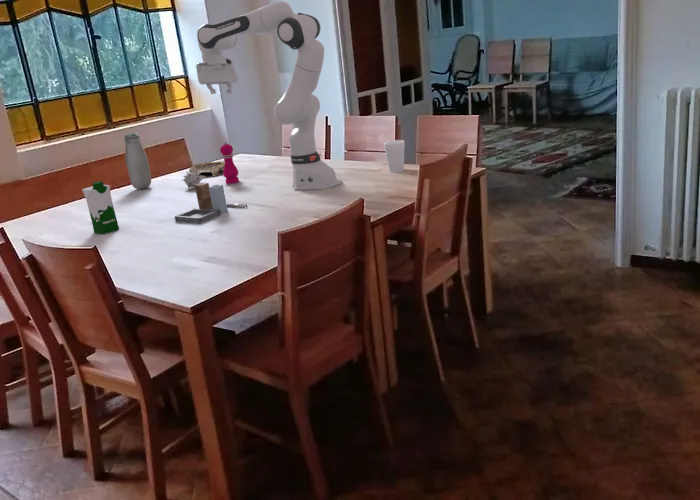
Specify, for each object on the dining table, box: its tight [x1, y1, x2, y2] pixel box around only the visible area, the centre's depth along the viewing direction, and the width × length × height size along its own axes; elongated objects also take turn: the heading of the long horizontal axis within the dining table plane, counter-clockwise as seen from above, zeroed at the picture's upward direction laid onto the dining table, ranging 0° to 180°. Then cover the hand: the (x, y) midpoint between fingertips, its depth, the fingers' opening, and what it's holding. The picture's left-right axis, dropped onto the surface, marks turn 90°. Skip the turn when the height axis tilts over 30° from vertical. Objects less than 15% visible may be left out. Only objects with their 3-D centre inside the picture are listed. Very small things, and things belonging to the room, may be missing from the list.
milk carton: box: [81, 180, 120, 235], centre depth 271 cm, size 9×9×20 cm
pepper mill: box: [219, 140, 240, 185], centre depth 329 cm, size 7×7×20 cm
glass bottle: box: [123, 132, 152, 190], centre depth 340 cm, size 10×10×28 cm
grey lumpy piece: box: [183, 171, 204, 190], centre depth 329 cm, size 9×8×10 cm
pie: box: [183, 160, 225, 179], centre depth 362 cm, size 28×27×5 cm
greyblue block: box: [209, 184, 229, 215], centre depth 278 cm, size 4×4×11 cm
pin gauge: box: [226, 202, 248, 209], centre depth 284 cm, size 10×2×2 cm
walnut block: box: [194, 182, 213, 210], centre depth 285 cm, size 4×4×11 cm
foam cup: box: [383, 139, 406, 173], centre depth 309 cm, size 10×9×13 cm
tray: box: [174, 207, 221, 224], centre depth 274 cm, size 14×11×2 cm
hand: (221, 93), depth 306 cm, fingers open, 8 cm apart
